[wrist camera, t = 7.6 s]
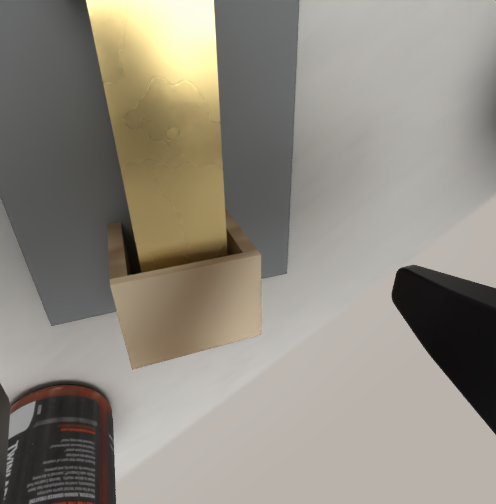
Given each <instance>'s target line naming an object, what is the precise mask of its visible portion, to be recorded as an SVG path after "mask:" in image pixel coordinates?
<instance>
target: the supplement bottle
mask: <svg viewBox="0 0 496 504" xmlns="http://www.w3.org/2000/svg"><path fill="white" fill-rule="evenodd" d="M115 490H116V489H115V467H114V436H113V419H112V410H111V407H110V404H109V403H108V401H107V400H106V399H105V398H104V397H103V396H102V395H101V394H100V393H98V392H97V391H95V390H93V389H90V388H86V387H82V386H74V385H60V386H52V387H48V388H44V389H40V390H38V391H35V392H32V393H30V394H28V395H26V396H24V397H22V398H21V399H19V400H18V401H17V402H16V403H14V404H13V405H11V407H10V422H9V438H8V454H7V470H6V483H5V494H4V501H3V504H116V495H115Z"/></svg>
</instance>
